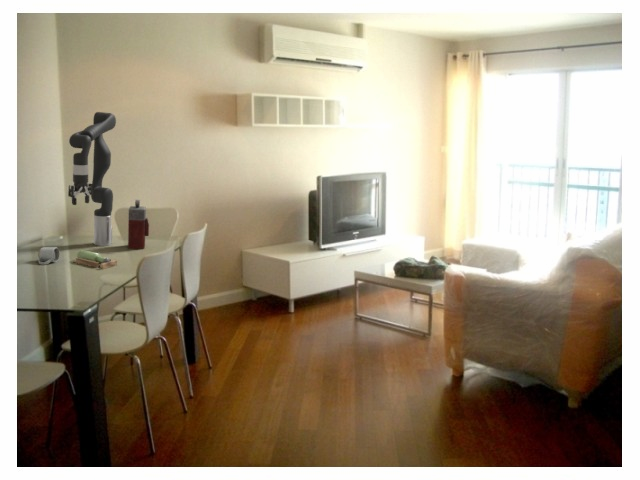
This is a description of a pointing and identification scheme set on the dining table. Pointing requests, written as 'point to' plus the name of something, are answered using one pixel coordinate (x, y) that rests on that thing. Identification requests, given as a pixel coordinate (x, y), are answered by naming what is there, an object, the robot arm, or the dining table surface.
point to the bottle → (92, 256)
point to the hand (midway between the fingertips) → (80, 203)
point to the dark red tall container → (137, 226)
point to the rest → (96, 263)
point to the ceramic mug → (48, 255)
